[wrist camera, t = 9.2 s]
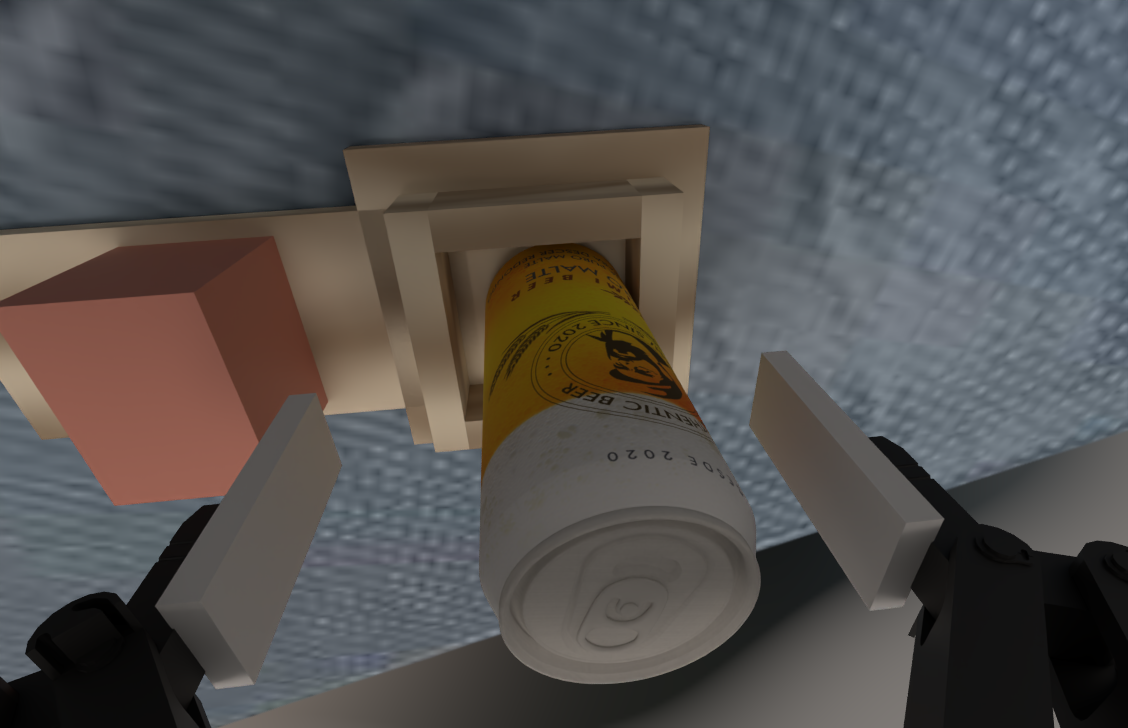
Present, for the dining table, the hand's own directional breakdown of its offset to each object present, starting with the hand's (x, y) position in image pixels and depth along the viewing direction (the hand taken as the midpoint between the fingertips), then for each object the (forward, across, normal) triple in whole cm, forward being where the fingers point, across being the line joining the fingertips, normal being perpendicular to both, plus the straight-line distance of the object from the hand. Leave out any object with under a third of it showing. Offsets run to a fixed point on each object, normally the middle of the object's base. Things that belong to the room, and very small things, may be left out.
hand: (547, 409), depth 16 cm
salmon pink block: (+9, -13, -1) cm, 16 cm away
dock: (+10, -8, -1) cm, 13 cm away
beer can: (+9, +1, 0) cm, 9 cm away
